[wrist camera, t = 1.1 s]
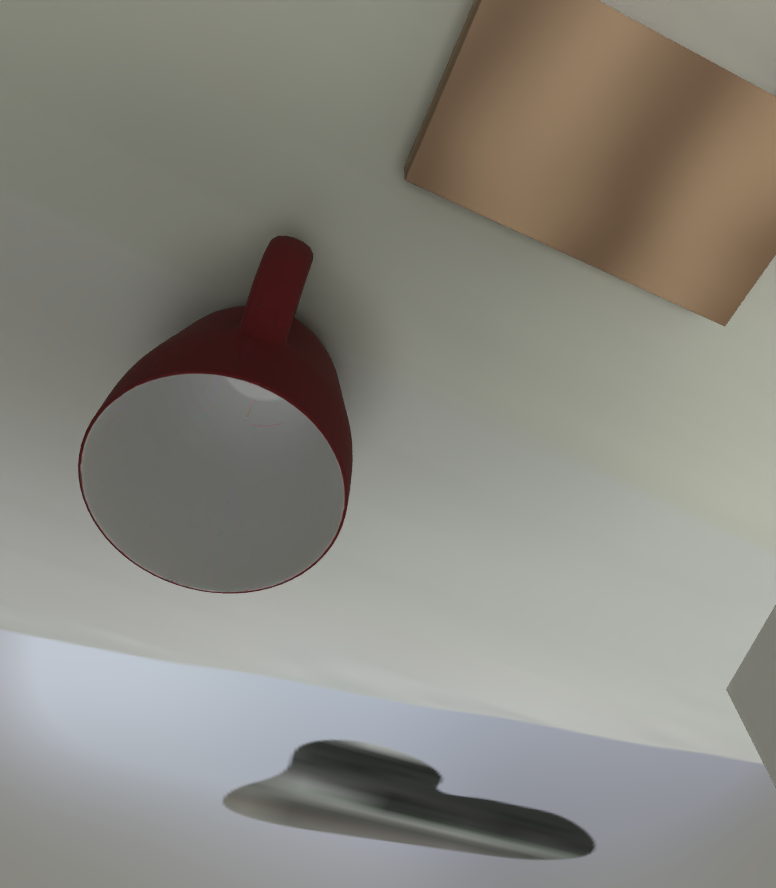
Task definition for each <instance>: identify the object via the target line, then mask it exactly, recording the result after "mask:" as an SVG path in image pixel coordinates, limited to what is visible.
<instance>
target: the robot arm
mask: <svg viewBox="0 0 776 888" xmlns="http://www.w3.org/2000/svg"><path fill="white" fill-rule="evenodd" d="M726 690H727V692H728V694H729V696H730V698H731V700H732V702H733V704H734V706H735V708H736V710H737V712H738V714H739V716H740V718H741V719H742V721H743V723H744V725H745V727H746V729H747V731H748V733H749V735H750V737H751V739H752V741H753V743H754V745H755V747H756V749H757V751H758V753H759V755H760V757H761V759H762V761H763V763H764V765H765V767H766V769H767V771H768V773H769V775H770V777H771V779H772V781H773V783H774V785H775V787H776V605H775V607H774V609H773V610H772V612H771V614H770V615H769V617H768V619H767V620H766V622H765V624H764V626H763V627H762V629H761V631H760V632H759V634H758V636H757V638H756V639H755V641H754V643H753V644H752V646H751V648H750V650H749V651H748V653H747V655H746V656H745V658H744V660H743V662H742V663H741V665H740V667H739V668H738V670H737V672H736V674H735V675H734V677H733V679H732V680H731V682H730V684H729V686H728V687H727V689H726Z"/></svg>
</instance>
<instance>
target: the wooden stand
mask: <svg viewBox="0 0 776 888" xmlns="http://www.w3.org/2000/svg"><path fill="white" fill-rule="evenodd" d="M404 171H405V180H406V181H408V182H410V183H412V184H415V185H417V186H419V187H421V188H423V189H426V190H428V191H430V192H432V193H434V194H436V195H439V196H441V197H443V198H445V199H447V200H450V201H452V202H454V203H456V204H458V205H461V206H463V207H465V208H467V209H469V210H471V211H474V212H476V213H478V214H480V215H482V216H485V217H487V218H489V219H491V220H493V221H495V222H498V223H500V224H502V225H504V226H506V227H509V228H511V229H513V230H515V231H517V232H520V233H522V234H524V235H526V236H528V237H530V238H533V239H535V240H537V241H539V242H541V243H544V244H546V245H548V246H550V247H552V248H554V249H557V250H559V251H561V252H563V253H565V254H568V255H570V256H572V257H574V258H576V259H579V260H581V261H583V262H585V263H587V264H589V265H592V266H594V267H596V268H598V269H600V270H603V271H605V272H607V273H609V274H611V275H614V276H616V277H618V278H620V279H622V280H624V281H627V282H629V283H631V284H633V285H635V286H638V287H640V288H642V289H644V290H646V291H648V292H651V293H653V294H655V295H657V296H659V297H662V298H664V299H666V300H668V301H670V302H673V303H675V304H677V305H679V306H681V307H683V308H686V309H688V310H690V311H692V312H694V313H697V314H699V315H701V316H703V317H705V318H707V319H710V320H712V321H714V322H716V323H718V324H721V325H723V326H725V325H726V324H727V323H728V321H729V320H730V318H731V317H732V316H733V314H734V313H735V311H736V310H737V308H738V307H739V306H740V304H741V303H742V301H743V300H744V299H745V297H746V296H747V294H748V293H749V292H750V290H751V289H752V287H753V286H754V284H755V283H756V282H757V280H758V279H759V277H760V276H761V275H762V273H763V272H764V270H765V269H766V268H767V266H768V265H769V263H770V262H771V260H772V259H773V258H774V256H775V255H776V97H775V96H773V95H772V94H770V93H768V92H766V91H764V90H762V89H761V88H759V87H757V86H755V85H753V84H751V83H749V82H748V81H746V80H744V79H742V78H740V77H738V76H737V75H735V74H733V73H731V72H729V71H727V70H725V69H724V68H722V67H720V66H718V65H716V64H714V63H713V62H711V61H709V60H707V59H705V58H703V57H702V56H700V55H698V54H696V53H694V52H692V51H690V50H689V49H687V48H685V47H683V46H681V45H679V44H678V43H676V42H674V41H672V40H670V39H668V38H666V37H665V36H663V35H661V34H659V33H657V32H655V31H654V30H652V29H650V28H648V27H646V26H644V25H642V24H641V23H639V22H637V21H635V20H633V19H631V18H630V17H628V16H626V15H624V14H622V13H620V12H618V11H617V10H615V9H613V8H611V7H609V6H607V5H606V4H604V3H602V2H600V1H598V0H475V1H474V3H473V6H472V8H471V11H470V13H469V15H468V18H467V20H466V22H465V25H464V27H463V30H462V32H461V34H460V37H459V39H458V41H457V44H456V46H455V49H454V51H453V53H452V56H451V58H450V60H449V63H448V65H447V68H446V70H445V72H444V75H443V77H442V79H441V82H440V84H439V87H438V89H437V91H436V94H435V96H434V98H433V101H432V103H431V106H430V108H429V110H428V113H427V115H426V117H425V120H424V122H423V125H422V127H421V129H420V132H419V134H418V136H417V139H416V141H415V144H414V146H413V148H412V151H411V153H410V155H409V158H408V160H407V163H406V165H405V167H404Z"/></svg>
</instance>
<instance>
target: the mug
mask: <svg viewBox="0 0 776 888" xmlns="http://www.w3.org/2000/svg"><path fill="white" fill-rule="evenodd" d="M312 260H313V253H312V251H311V249H310V247H309V246H308V245H306V244H305V243H304V242H302V241H300V240H298V239H296V238H293V237H289V236H277V237H275V238H273V239H272V240H271V242H270V243H269V245H268V247H267V249H266V251H265V253H264V255H263V258H262V260H261V263H260V265H259V268H258V271H257V273H256V276H255V279H254V282H253V285H252V288H251V291H250V294H249V297H248V300H247V303H246V306H240V307H233V308H228V309H224V310H220V311H217V312H214V313H212V314H210V315H207V316H205V317H203V318H202V319H200V320H198V321H196V322H195V323H193V324H192V325H190V326H189V327H187V328H185V329H184V330H182V331H181V332H179V333H178V334H176V335H174V336H173V337H171V338H170V339H168V340H167V341H165V342H164V343H162V344H160V345H159V346H158V347H156V348H155V349H153V350H152V351H151V352H149V353H148V354H146V355H145V356H144V357H143V358H141V359H140V360H139V361H138V362H137V363H136V364H135V365H134V366H133V367H132V368H131V369H130V370H129V371H128V372H127V373H126V374H125V375H124V376H123V377H122V379H121V380H120V381H119V382H118V383H117V385H116V386H115V387H114V389H113V390H112V391H111V393H110V394H109V396H108V397H107V399H106V400H105V402H104V403H103V404H102V406H101V407H100V409H99V410H98V412H97V413H96V415H95V416H94V418H93V419H92V421H91V423H90V425H89V427H88V429H87V431H86V433H85V436H84V438H83V441H82V444H81V449H80V454H79V463H78V472H79V482H80V488H81V492H82V496H83V499H84V502H85V504H86V507H87V509H88V511H89V513H90V515H91V517H92V519H93V521H94V522H95V524H96V525H97V527H98V528H99V530H100V531H101V532H102V534H103V535H104V536H105V538H106V539H107V540H108V541H109V542H110V543H111V544H112V545H113V546H114V547H115V548H116V549H117V550H118V551H119V552H120V553H121V554H122V555H124V556H125V557H126V558H127V559H129V560H130V561H131V562H133V563H134V564H136V565H137V566H139V567H140V568H142V569H143V570H145V571H147V572H149V573H151V574H152V575H154V576H156V577H159V578H161V579H163V580H165V581H168V582H170V583H173V584H176V585H179V586H182V587H186V588H190V589H194V590H199V591H205V592H212V593H247V592H254V591H260V590H264V589H268V588H272V587H275V586H278V585H281V584H283V583H285V582H288V581H290V580H292V579H294V578H296V577H298V576H299V575H301V574H303V573H304V572H306V571H307V570H309V569H310V568H311V567H312V566H314V565H315V564H316V563H317V562H318V561H319V560H320V559H321V558H322V557H323V556H324V555H325V554H326V553H327V552H328V550H329V549H330V548H331V546H332V545H333V543H334V542H335V540H336V538H337V536H338V534H339V532H340V530H341V528H342V525H343V522H344V519H345V515H346V510H347V505H348V498H349V492H350V484H351V474H352V462H353V461H352V439H351V432H350V426H349V421H348V417H347V413H346V409H345V405H344V401H343V397H342V393H341V389H340V385H339V381H338V377H337V373H336V370H335V368H334V365H333V362H332V360H331V358H330V356H329V354H328V352H327V351H326V349H325V348H324V346H323V345H322V343H321V342H320V341H319V340H318V338H317V337H316V336H315V335H314V334H313V333H312V332H311V331H310V330H309V329H308V328H307V327H306V326H304V325H303V324H302V323H301V322H300V321H298V320H297V319H296V318H295V317H294V315H295V312H296V309H297V306H298V303H299V300H300V296H301V293H302V290H303V287H304V284H305V281H306V278H307V275H308V272H309V269H310V266H311V263H312Z"/></svg>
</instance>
